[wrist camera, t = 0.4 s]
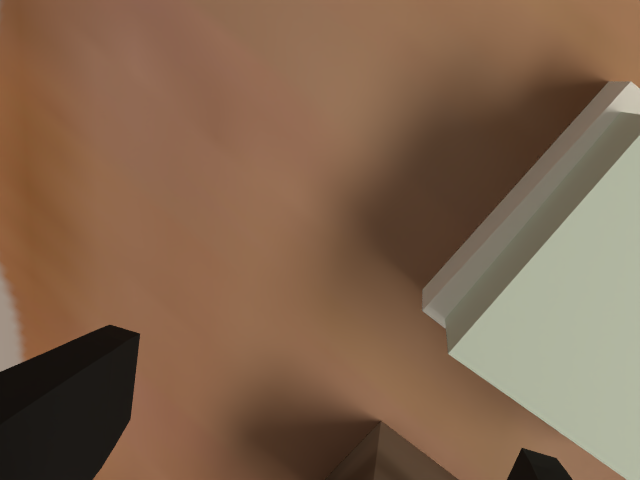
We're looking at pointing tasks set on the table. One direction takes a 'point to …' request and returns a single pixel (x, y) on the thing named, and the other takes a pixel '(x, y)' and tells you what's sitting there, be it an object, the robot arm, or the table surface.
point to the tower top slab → (569, 306)
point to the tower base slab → (525, 200)
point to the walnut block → (388, 460)
